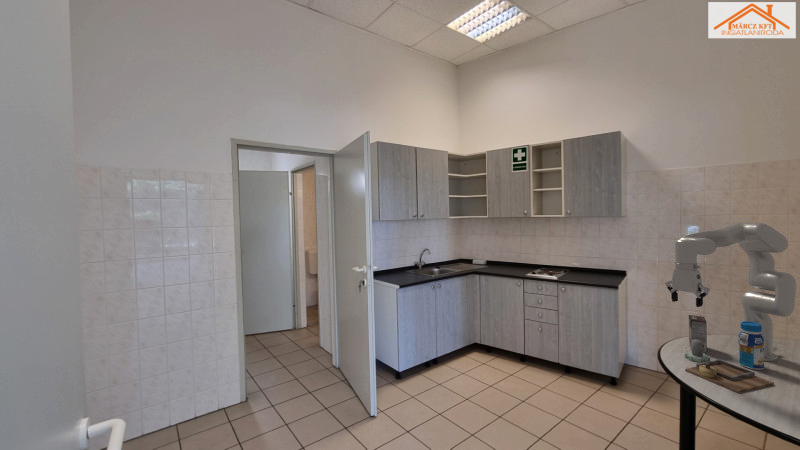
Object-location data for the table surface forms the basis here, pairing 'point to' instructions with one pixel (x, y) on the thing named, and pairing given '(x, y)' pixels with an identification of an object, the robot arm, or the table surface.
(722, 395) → the table surface
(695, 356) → the gear
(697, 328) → the coffee box
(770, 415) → the table surface
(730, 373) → the carrier
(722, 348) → the table surface
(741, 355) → the beverage bottle
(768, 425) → the table surface
